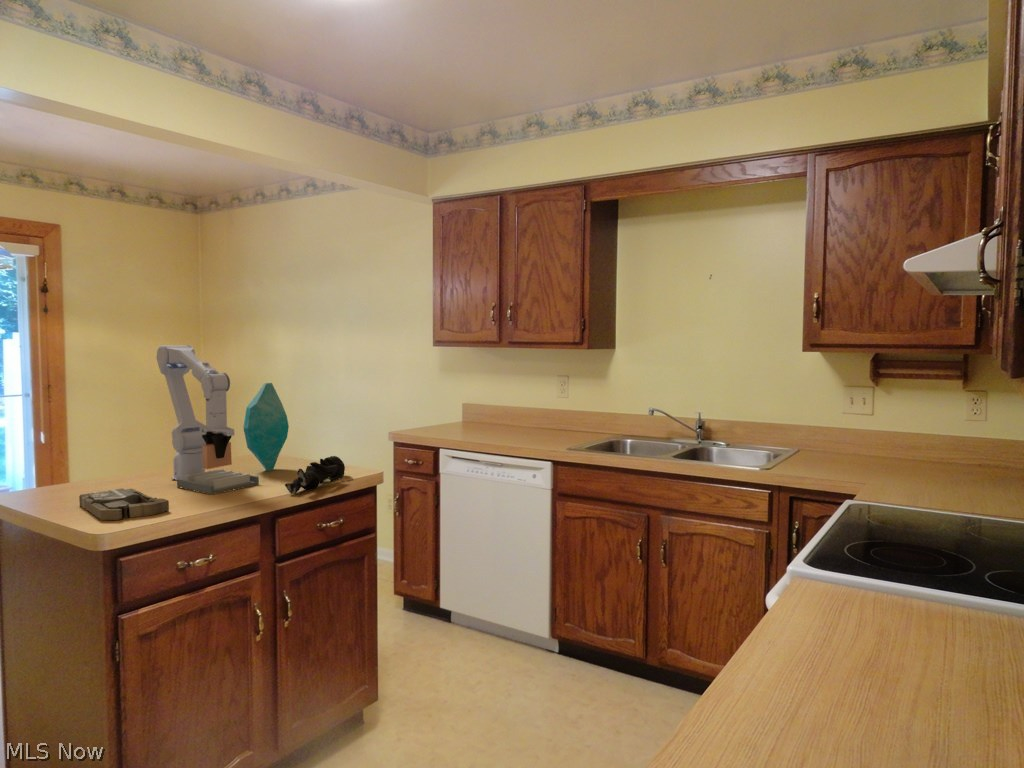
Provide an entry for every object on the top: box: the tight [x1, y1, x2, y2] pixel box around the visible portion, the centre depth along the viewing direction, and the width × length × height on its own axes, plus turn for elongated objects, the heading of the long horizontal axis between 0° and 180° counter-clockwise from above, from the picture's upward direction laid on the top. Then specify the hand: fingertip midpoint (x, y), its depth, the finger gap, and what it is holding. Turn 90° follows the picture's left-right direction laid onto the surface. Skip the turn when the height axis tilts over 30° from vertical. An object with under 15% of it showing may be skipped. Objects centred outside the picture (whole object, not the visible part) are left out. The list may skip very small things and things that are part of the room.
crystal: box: [242, 382, 289, 472], centre depth 222 cm, size 12×14×30 cm
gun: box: [78, 488, 170, 521], centre depth 171 cm, size 4×24×15 cm
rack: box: [176, 468, 260, 495], centre depth 199 cm, size 17×16×4 cm
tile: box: [202, 441, 232, 470], centre depth 198 cm, size 2×8×7 cm, turn 148°
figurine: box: [284, 455, 346, 495], centre depth 202 cm, size 8×30×8 cm, turn 167°
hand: (217, 457), depth 198 cm, fingers closed on tile, 2 cm apart
